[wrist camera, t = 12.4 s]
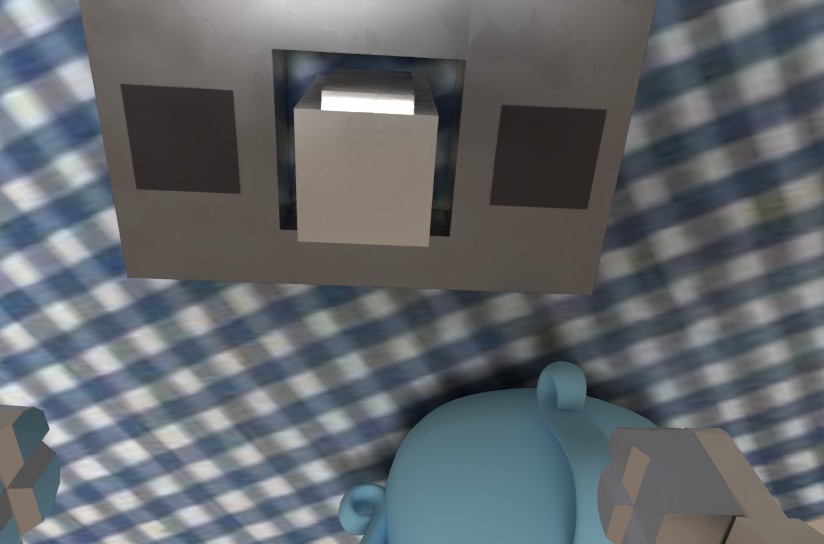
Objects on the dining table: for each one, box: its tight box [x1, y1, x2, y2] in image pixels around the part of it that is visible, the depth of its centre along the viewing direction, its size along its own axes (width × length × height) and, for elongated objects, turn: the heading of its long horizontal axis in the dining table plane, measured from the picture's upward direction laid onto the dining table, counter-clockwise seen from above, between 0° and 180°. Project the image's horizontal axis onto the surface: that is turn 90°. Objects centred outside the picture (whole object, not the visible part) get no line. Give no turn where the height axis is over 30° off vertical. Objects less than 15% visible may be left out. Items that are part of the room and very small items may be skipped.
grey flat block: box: [79, 0, 657, 295], centre depth 25 cm, size 20×12×3 cm, turn 87°
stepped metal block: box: [294, 68, 439, 247], centre depth 23 cm, size 4×5×7 cm
